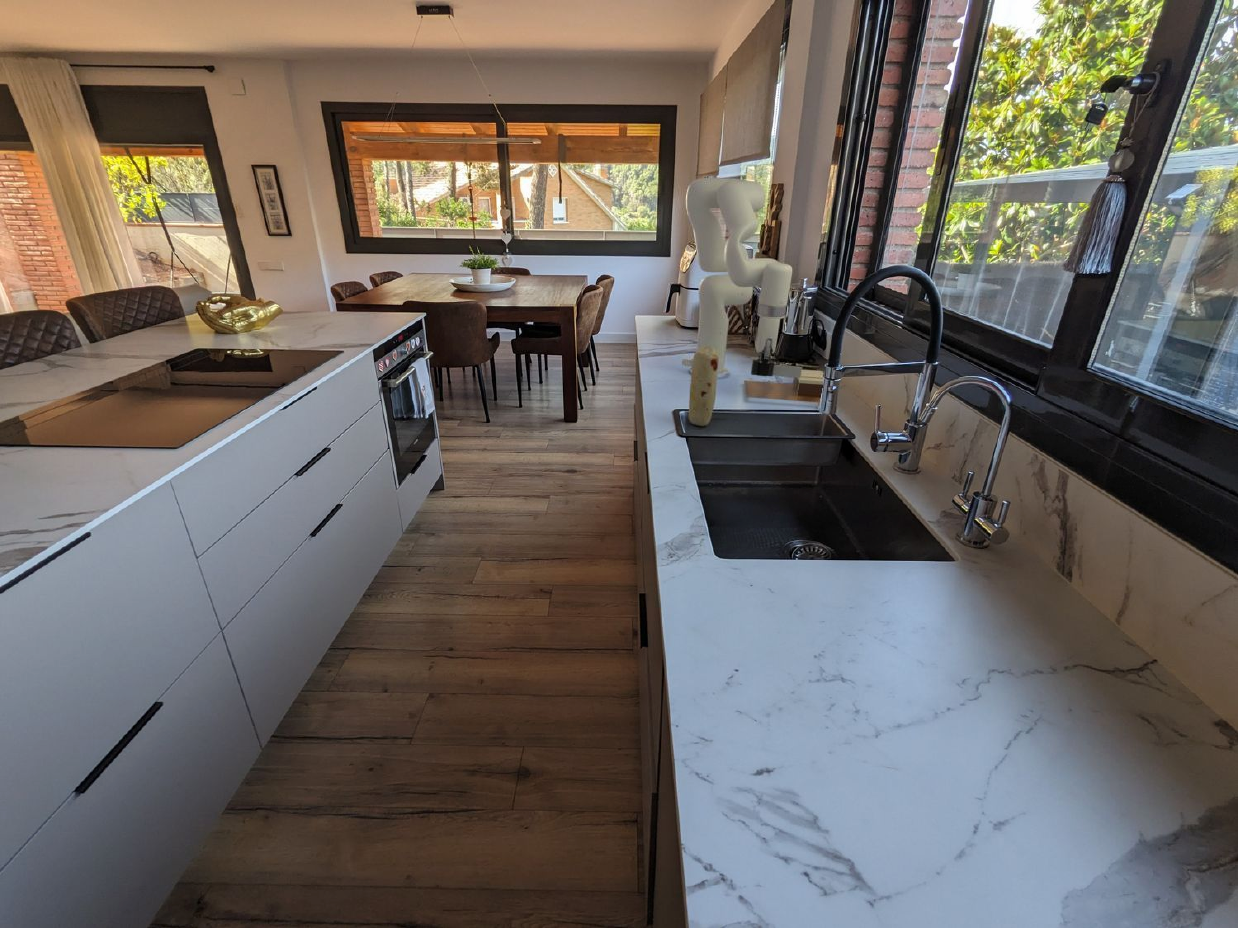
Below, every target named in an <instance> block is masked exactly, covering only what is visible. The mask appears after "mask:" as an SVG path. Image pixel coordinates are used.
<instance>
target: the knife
mask: <svg viewBox="0 0 1238 928" xmlns="http://www.w3.org/2000/svg"><path fill="white" fill-rule="evenodd" d="M759 361H760V360H758V359H752V364H751V369H750V375H751V376H757V367H758V362H759ZM802 370H803V366H794V365H780V364H775V360H770V365H769V371H768V376H767V377H784V378H794V377H795V378H800V377H801V371H802Z"/></svg>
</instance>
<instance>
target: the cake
mask: <svg viewBox="0 0 1238 928" xmlns="http://www.w3.org/2000/svg"><path fill="white" fill-rule="evenodd" d="M823 374H824V372H823V370H811V369H802V371H801V377H803V378H817V379H823ZM798 380H799V378H795V377H793V382H792V384H793V386H794V389H795V391H797V385H798Z"/></svg>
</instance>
